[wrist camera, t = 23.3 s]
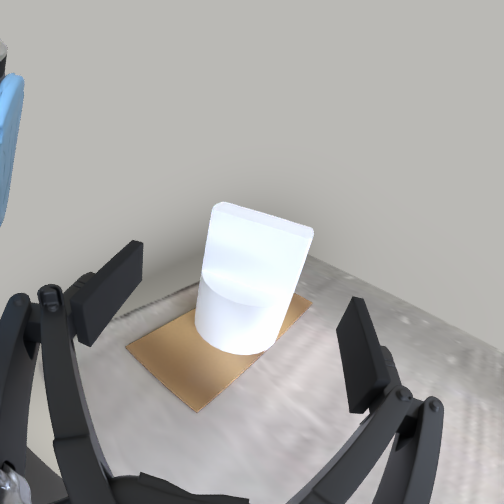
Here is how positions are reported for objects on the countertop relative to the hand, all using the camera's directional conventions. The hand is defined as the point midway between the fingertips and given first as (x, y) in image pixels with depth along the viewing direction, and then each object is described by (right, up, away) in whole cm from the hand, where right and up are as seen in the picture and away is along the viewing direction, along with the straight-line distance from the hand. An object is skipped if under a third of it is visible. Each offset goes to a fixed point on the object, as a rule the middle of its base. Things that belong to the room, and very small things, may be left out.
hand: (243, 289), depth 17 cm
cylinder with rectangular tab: (-1, -6, +13) cm, 14 cm away
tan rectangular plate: (-1, -6, +13) cm, 14 cm away
